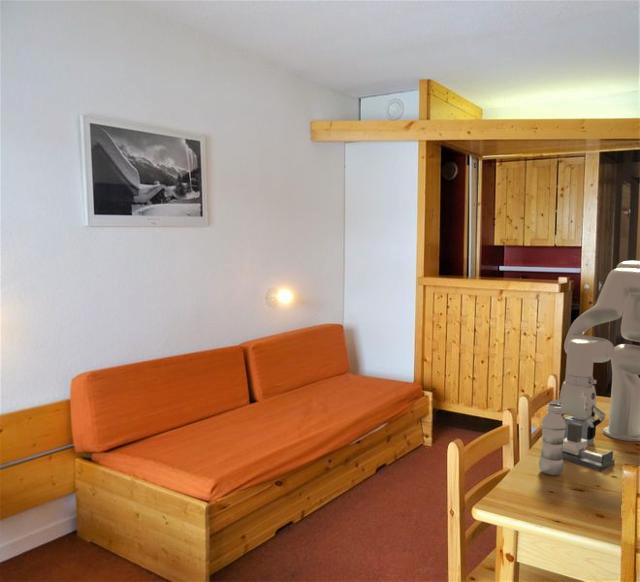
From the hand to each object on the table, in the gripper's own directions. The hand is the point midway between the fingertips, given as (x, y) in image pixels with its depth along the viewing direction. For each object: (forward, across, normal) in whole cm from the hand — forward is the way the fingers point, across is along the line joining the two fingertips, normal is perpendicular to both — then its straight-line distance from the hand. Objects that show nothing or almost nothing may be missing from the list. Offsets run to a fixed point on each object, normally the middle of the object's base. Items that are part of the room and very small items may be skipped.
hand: (575, 434), depth 184 cm
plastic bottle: (+7, -3, +18) cm, 20 cm away
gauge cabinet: (+7, +5, -14) cm, 16 cm away
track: (+7, -4, 0) cm, 8 cm away
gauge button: (0, +5, -14) cm, 15 cm away
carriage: (+5, 0, 0) cm, 5 cm away
